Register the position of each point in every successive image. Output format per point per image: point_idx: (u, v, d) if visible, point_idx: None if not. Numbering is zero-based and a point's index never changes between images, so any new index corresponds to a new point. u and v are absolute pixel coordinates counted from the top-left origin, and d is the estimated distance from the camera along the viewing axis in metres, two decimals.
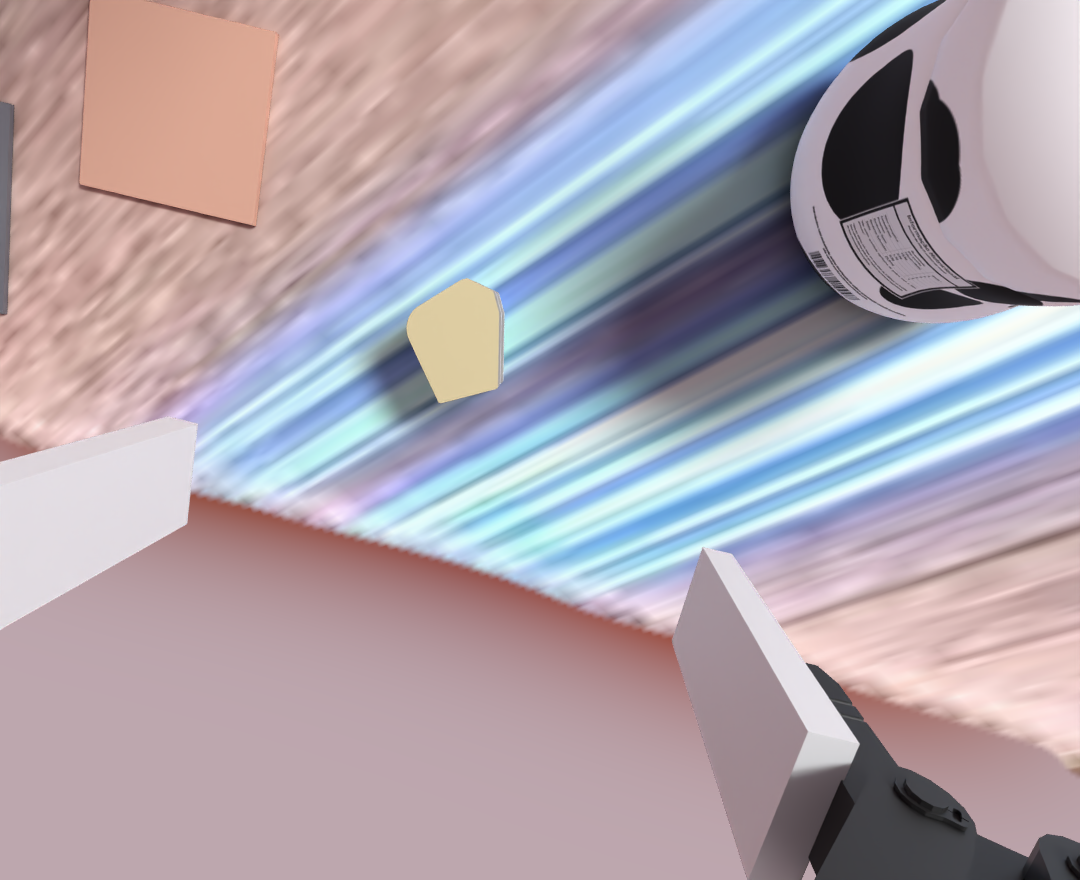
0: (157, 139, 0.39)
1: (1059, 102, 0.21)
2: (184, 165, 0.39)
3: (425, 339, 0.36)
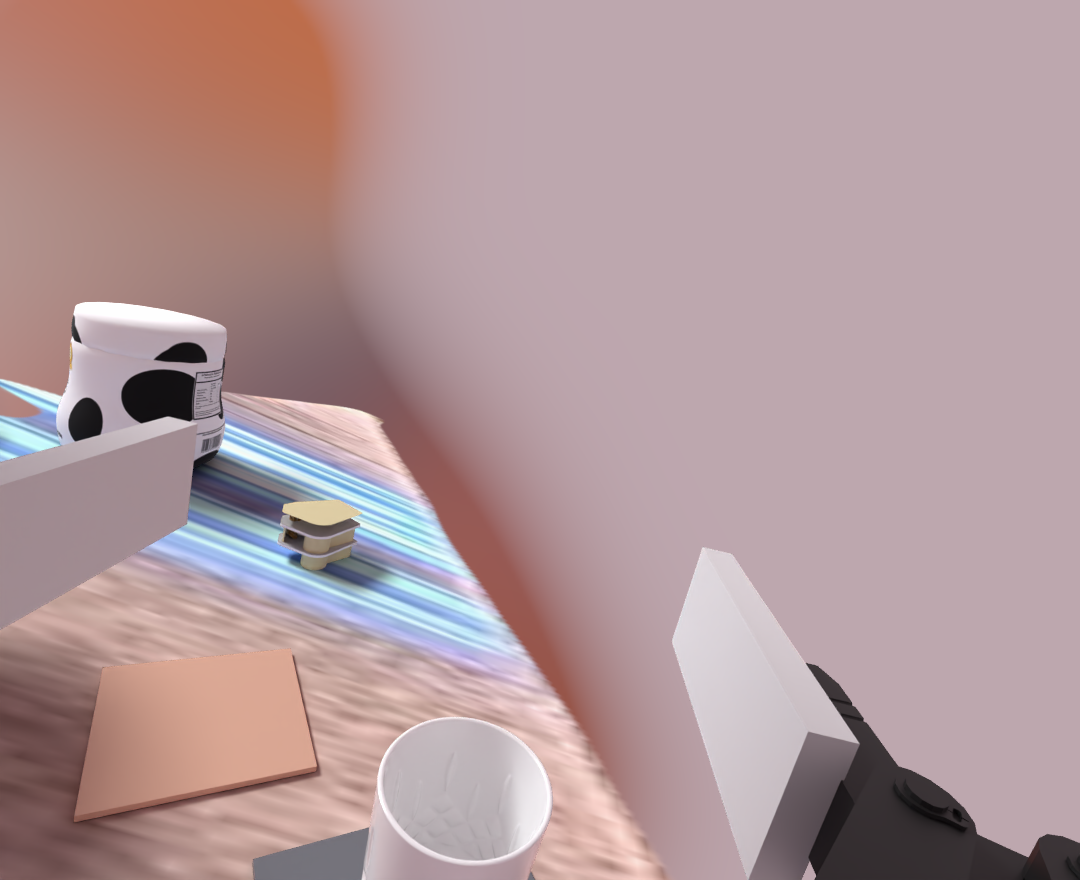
0: (241, 720, 0.39)
1: (171, 326, 0.67)
2: (258, 696, 0.41)
3: (329, 519, 0.59)
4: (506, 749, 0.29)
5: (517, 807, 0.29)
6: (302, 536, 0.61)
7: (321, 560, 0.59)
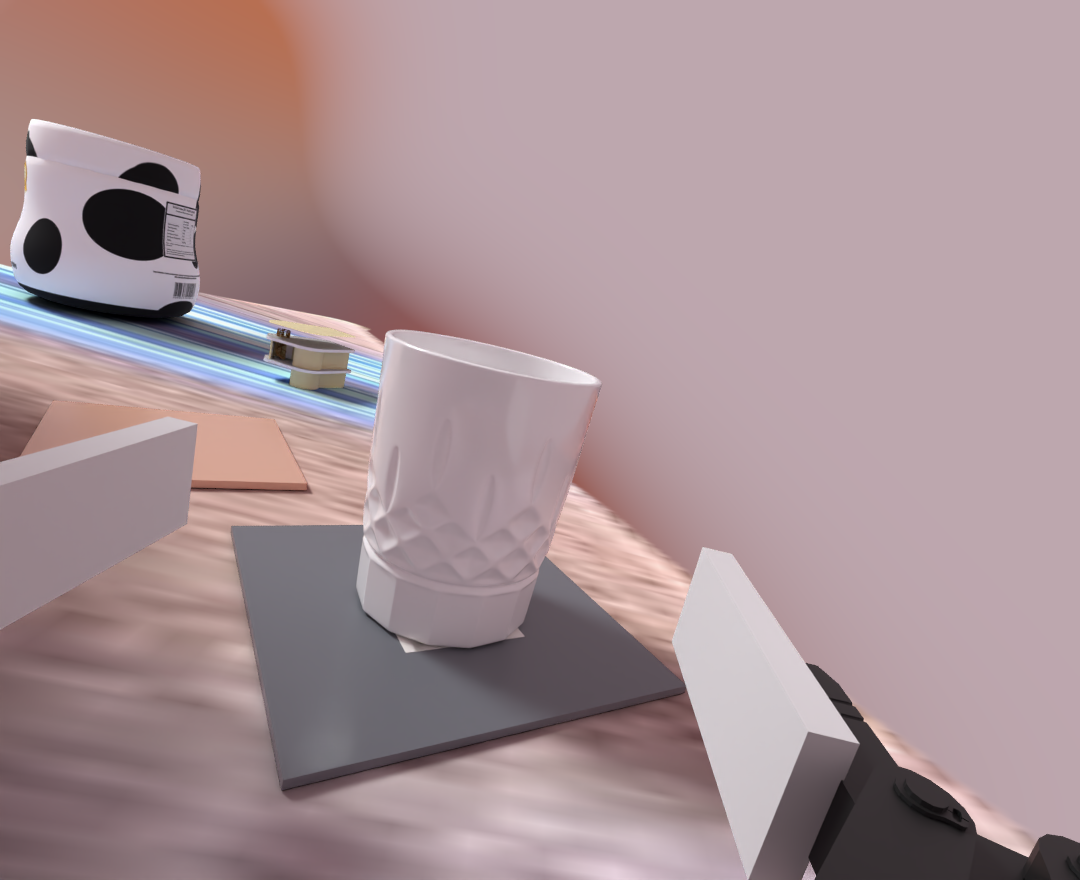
0: (217, 448, 0.33)
1: None
2: (237, 438, 0.35)
3: (321, 333, 0.54)
4: (537, 376, 0.25)
5: None
6: (291, 359, 0.56)
7: (312, 378, 0.54)
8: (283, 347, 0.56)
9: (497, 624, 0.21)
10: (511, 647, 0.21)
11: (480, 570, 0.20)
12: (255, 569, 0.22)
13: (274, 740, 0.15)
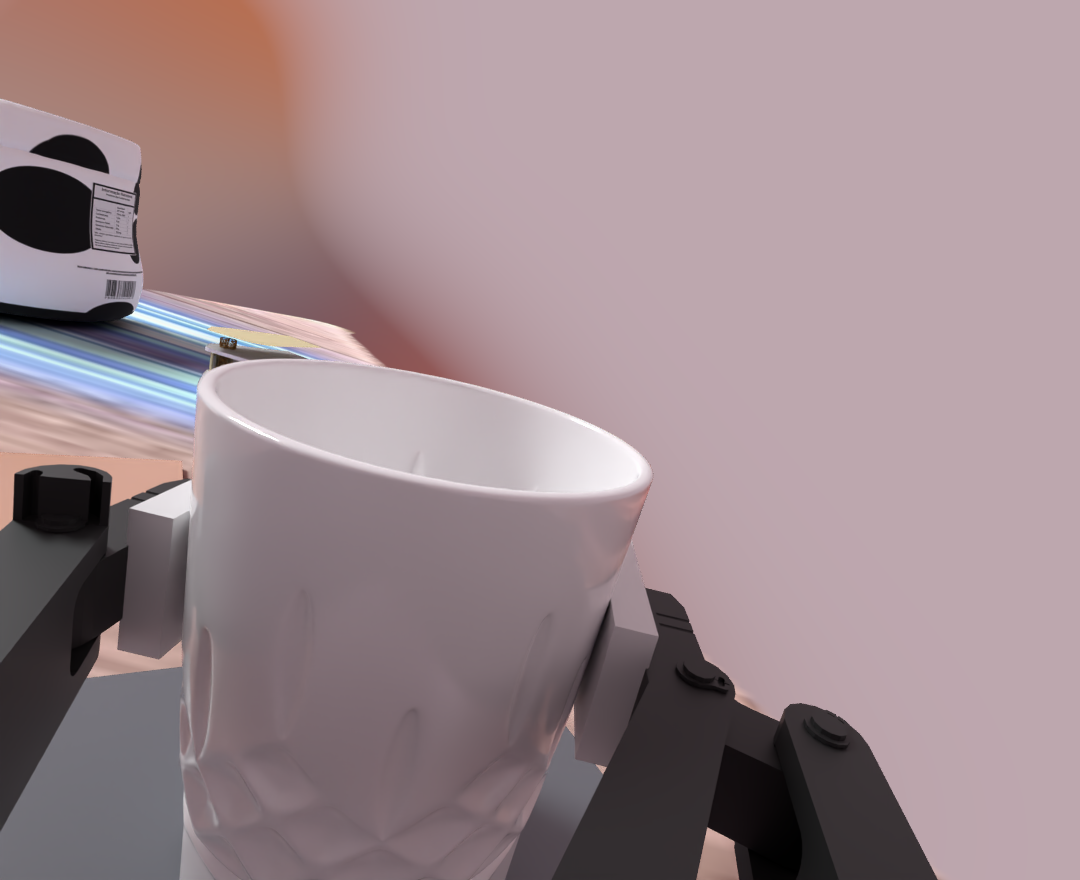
0: None
1: None
2: None
3: (273, 343, 0.43)
4: (528, 435, 0.14)
5: None
6: None
7: None
8: (229, 360, 0.45)
9: None
10: None
11: None
12: None
13: None
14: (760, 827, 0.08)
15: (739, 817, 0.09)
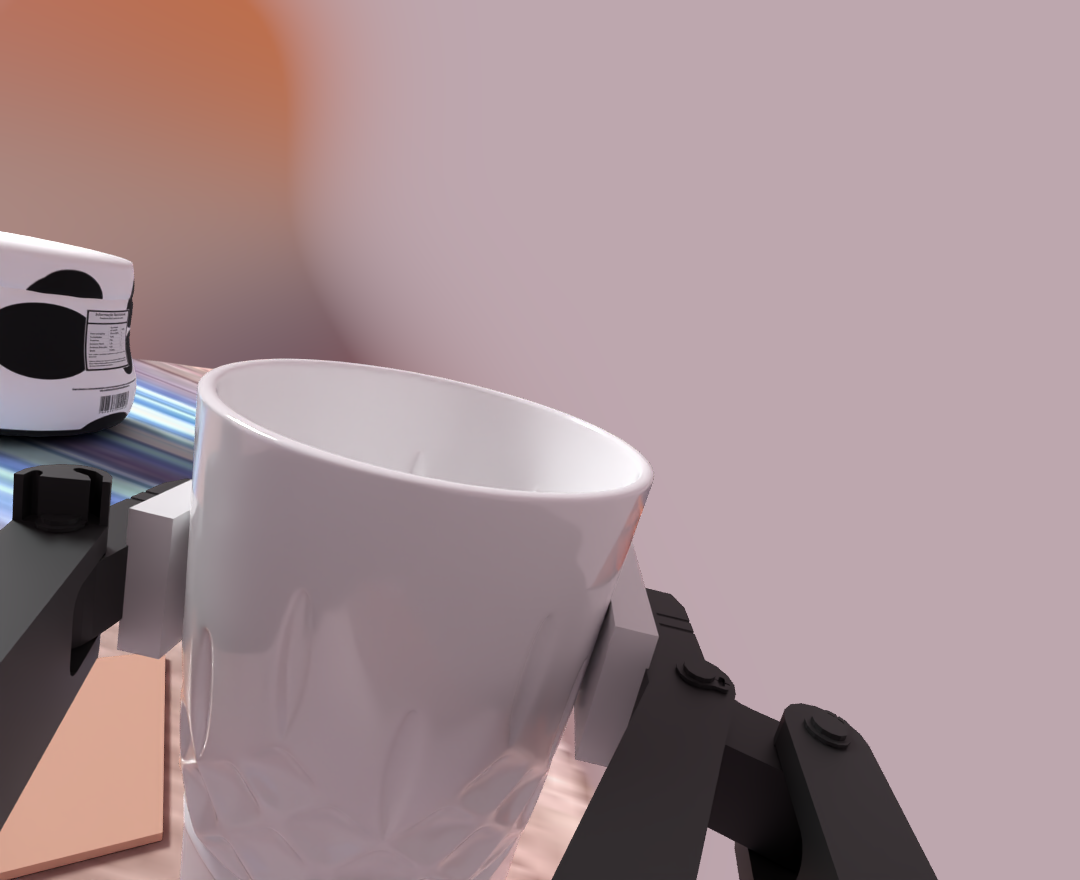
0: (55, 760, 0.25)
1: (53, 251, 0.54)
2: (94, 722, 0.27)
3: None
4: (528, 435, 0.14)
5: None
6: None
7: None
8: None
9: None
10: None
11: None
12: None
13: None
14: (760, 827, 0.08)
15: (739, 818, 0.09)
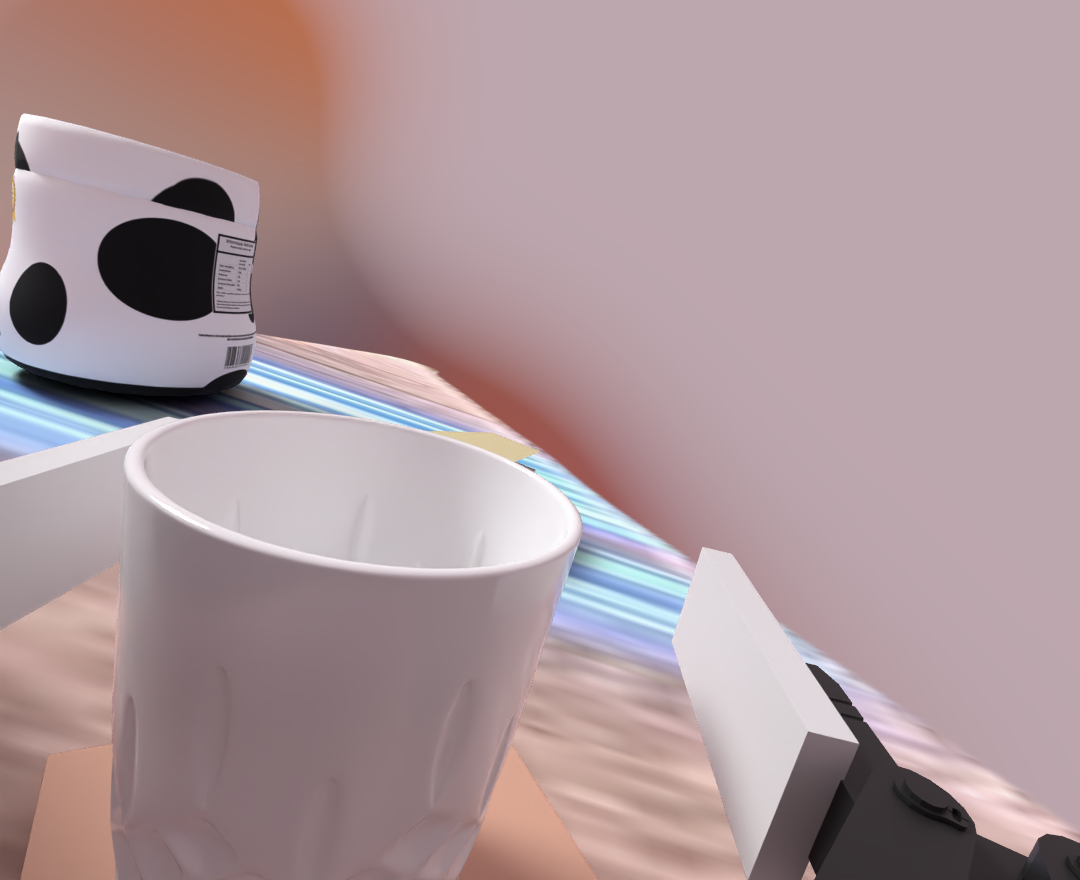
0: None
1: None
2: None
3: None
4: (474, 480, 0.14)
5: None
6: None
7: None
8: None
9: None
10: None
11: None
12: None
13: None
14: None
15: None
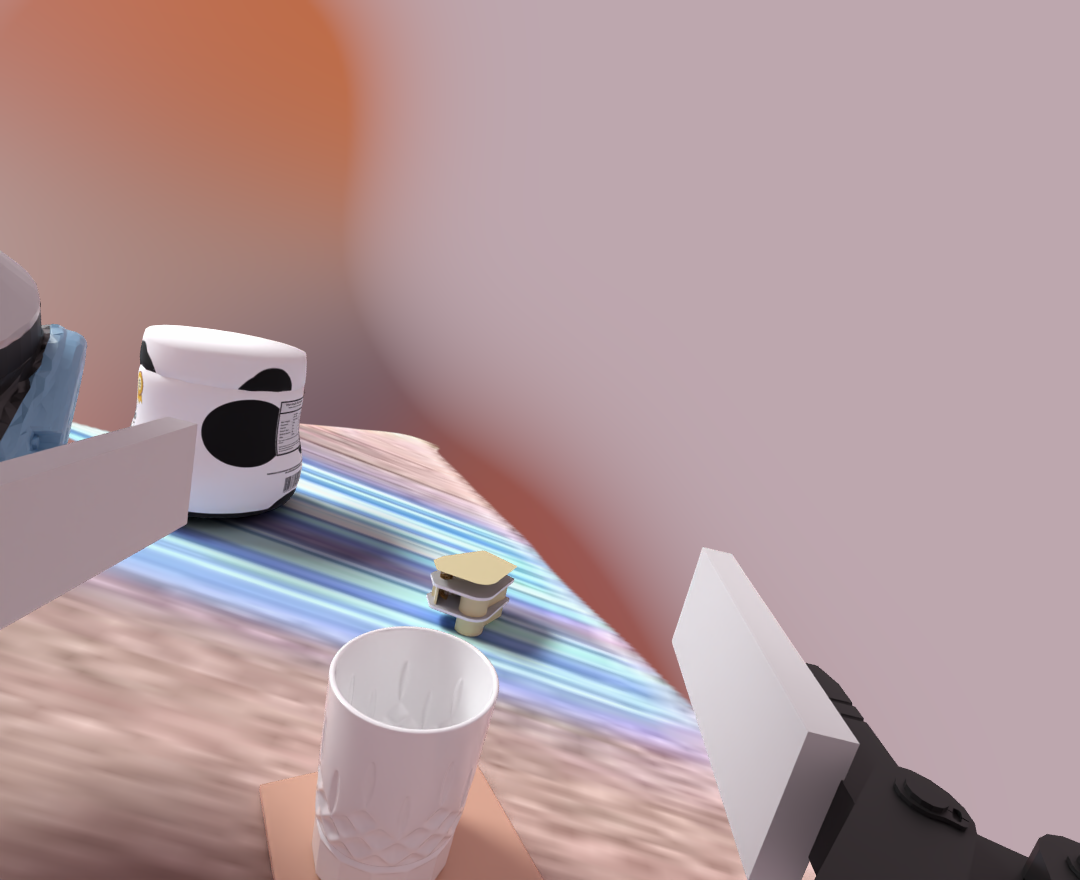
0: None
1: (254, 350, 0.59)
2: None
3: (489, 576, 0.51)
4: (457, 654, 0.31)
5: (468, 706, 0.30)
6: (451, 595, 0.53)
7: (480, 624, 0.51)
8: None
9: None
10: None
11: (403, 856, 0.26)
12: None
13: None
14: None
15: None
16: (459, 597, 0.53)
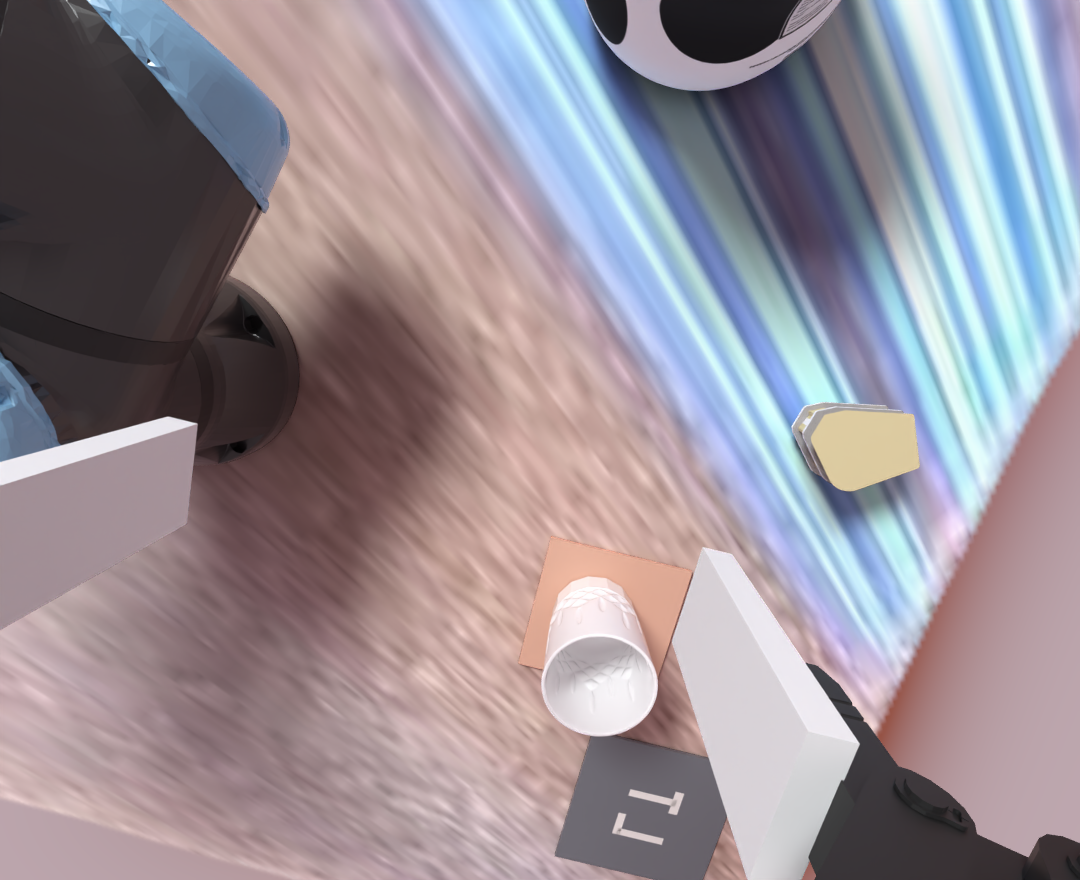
0: None
1: None
2: (643, 618, 0.49)
3: (859, 475, 0.41)
4: None
5: (644, 669, 0.42)
6: None
7: None
8: None
9: None
10: (651, 846, 0.54)
11: None
12: (587, 769, 0.53)
13: (558, 844, 0.55)
14: None
15: None
16: None
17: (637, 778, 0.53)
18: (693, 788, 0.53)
